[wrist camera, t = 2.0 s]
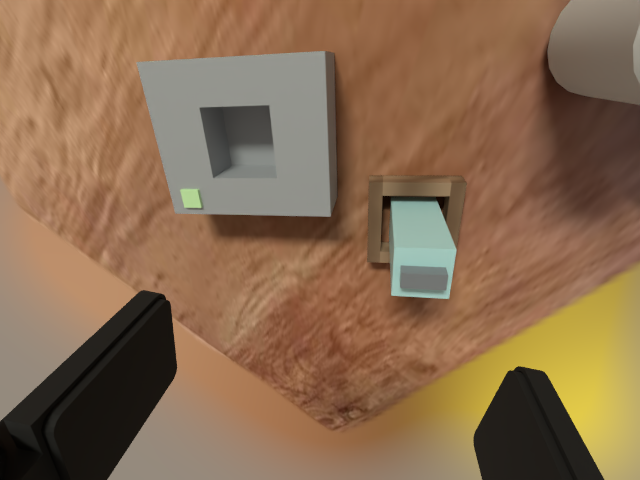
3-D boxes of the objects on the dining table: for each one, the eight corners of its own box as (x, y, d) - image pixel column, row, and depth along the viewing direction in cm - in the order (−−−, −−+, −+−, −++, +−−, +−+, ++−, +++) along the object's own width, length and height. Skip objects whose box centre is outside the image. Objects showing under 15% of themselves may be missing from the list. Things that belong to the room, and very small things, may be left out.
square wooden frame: (461, 175, 30) (466, 182, 28) (450, 255, 33) (453, 265, 32) (369, 175, 31) (368, 182, 29) (368, 252, 35) (367, 262, 33)
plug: (435, 196, 31) (459, 257, 21) (431, 236, 33) (451, 307, 23) (390, 196, 32) (394, 254, 22) (388, 234, 34) (391, 304, 24)
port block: (334, 52, 27) (324, 50, 22) (337, 196, 33) (330, 218, 28) (173, 62, 29) (133, 62, 25) (201, 194, 35) (173, 214, 30)
